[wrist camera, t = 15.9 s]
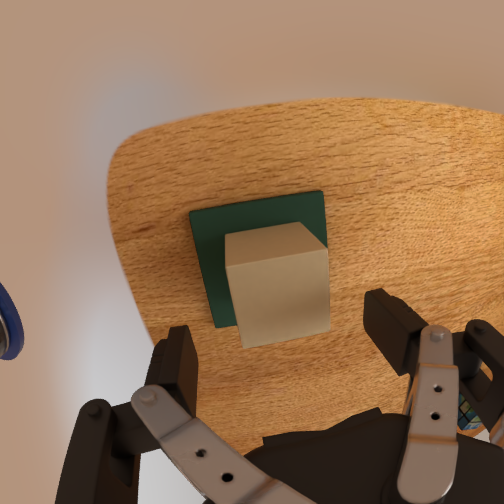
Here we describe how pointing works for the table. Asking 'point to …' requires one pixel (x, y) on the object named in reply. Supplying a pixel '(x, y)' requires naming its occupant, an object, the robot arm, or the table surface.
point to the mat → (242, 219)
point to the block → (278, 283)
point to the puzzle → (466, 415)
